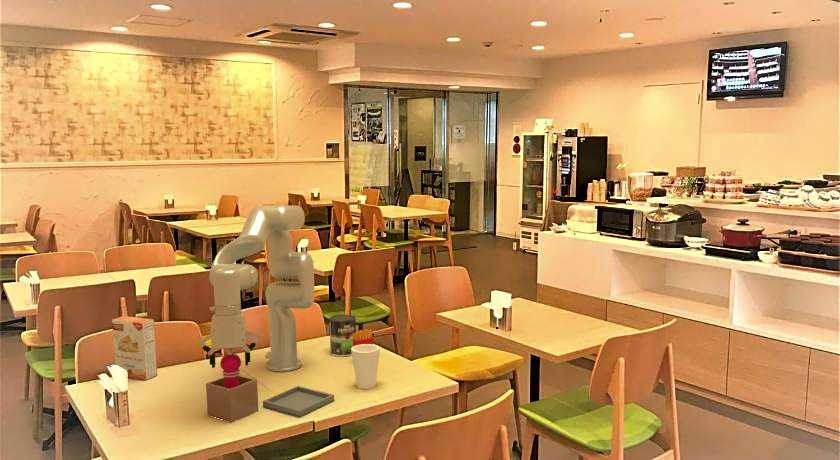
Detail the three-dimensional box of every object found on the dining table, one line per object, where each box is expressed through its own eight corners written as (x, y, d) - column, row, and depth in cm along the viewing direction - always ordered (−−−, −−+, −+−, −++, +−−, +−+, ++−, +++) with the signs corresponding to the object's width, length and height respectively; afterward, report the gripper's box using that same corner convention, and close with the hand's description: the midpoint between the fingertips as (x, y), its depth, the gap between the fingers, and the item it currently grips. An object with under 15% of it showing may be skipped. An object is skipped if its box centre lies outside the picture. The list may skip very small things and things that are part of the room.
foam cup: (375, 391, 224) (374, 353, 222) (348, 389, 225) (347, 351, 224) (383, 381, 233) (382, 344, 231) (357, 380, 235) (356, 343, 233)
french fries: (369, 357, 259) (369, 326, 258) (375, 360, 256) (374, 329, 255) (350, 362, 254) (350, 330, 252) (356, 364, 251) (355, 333, 249)
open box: (207, 415, 206) (205, 383, 204) (234, 404, 214) (233, 373, 213) (231, 423, 200) (229, 390, 199) (258, 411, 209) (257, 379, 207)
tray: (263, 407, 212) (262, 400, 211) (298, 391, 224) (297, 385, 224) (300, 417, 203) (299, 411, 203) (334, 400, 216) (334, 394, 216)
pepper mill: (223, 409, 210) (220, 346, 208) (247, 408, 211) (244, 345, 208) (218, 418, 203) (215, 353, 201) (243, 417, 204) (240, 352, 201)
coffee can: (360, 354, 263) (359, 318, 261) (335, 358, 259) (334, 322, 257) (350, 347, 272) (349, 313, 271) (326, 351, 268) (325, 316, 266)
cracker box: (114, 376, 241) (110, 319, 239) (127, 371, 247) (124, 315, 244) (145, 381, 236) (141, 322, 234) (158, 375, 242) (154, 318, 239)
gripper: (196, 314, 198) (198, 371, 199) (257, 311, 201) (259, 367, 203) (199, 308, 205) (201, 363, 207) (258, 305, 208) (260, 359, 210)
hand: (230, 365), depth 205 cm, fingers open, 9 cm apart
